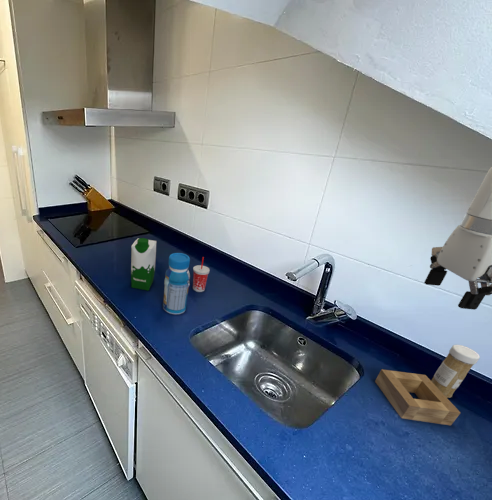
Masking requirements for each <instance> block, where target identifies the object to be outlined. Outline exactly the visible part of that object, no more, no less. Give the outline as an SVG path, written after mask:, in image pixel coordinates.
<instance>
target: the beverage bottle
mask: <svg viewBox="0 0 492 500" xmlns="http://www.w3.org/2000/svg"><path fill="white" fill-rule="evenodd" d="M190 262H191V258H190V256H189V255H187V254H186V253H183V252H173V253H171V254H169V257H168V262H167V263H168V268H167V269H166V271H165V274H164V276H165V278H164V282H163V285H164V287H163V288H164V290H163V300H162V309H163V310H164V311H165V312H166V313H168V314H170V315H181V314H184V313H185V311H186V310H187V303H188V302H187V301H188V294H189V288H190V285H191V284H190V283H191V282H190V280H191V274H190V271H189V267H190V264H191V263H190Z"/></svg>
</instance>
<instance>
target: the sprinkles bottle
mask: <svg viewBox="0 0 492 500" xmlns="http://www.w3.org/2000/svg"><path fill="white" fill-rule="evenodd" d="M480 359H481V356H480V354H479V353H478V352H477V351H475V350H474V349H472V348H470V347H467V346H465V345H462V344H453V345H452V346H451V348H449V351H448V354H447V355H446V356H445V358H444V359H443V361H442V362H441V364H440V366H439V367H438V368H437V370H436V371H435V373H434V375H433V377H432V378H431V379H430V380H431V381H432V383H433V384H434V385H435V386H436V387H437V388H438V389H439V390H440V391H441V392H442V393H443V394H444V395H445V396H446V398H447V399H449V398H453V394H454V393H455V391H456V390H457V389H459V387H460V385H461V384H462V382H463V381H464V380H465V378H466V376H467V374H468V373H469V371H470V370H471V369H472V368H473V366H474V365H476V364H477V363H478V361H479V360H480Z"/></svg>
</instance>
